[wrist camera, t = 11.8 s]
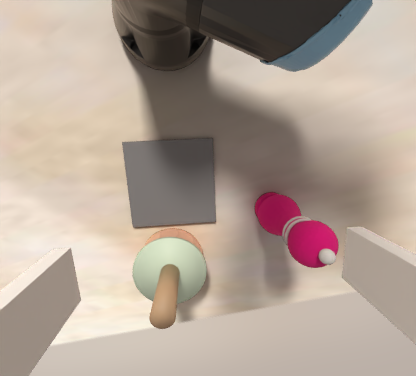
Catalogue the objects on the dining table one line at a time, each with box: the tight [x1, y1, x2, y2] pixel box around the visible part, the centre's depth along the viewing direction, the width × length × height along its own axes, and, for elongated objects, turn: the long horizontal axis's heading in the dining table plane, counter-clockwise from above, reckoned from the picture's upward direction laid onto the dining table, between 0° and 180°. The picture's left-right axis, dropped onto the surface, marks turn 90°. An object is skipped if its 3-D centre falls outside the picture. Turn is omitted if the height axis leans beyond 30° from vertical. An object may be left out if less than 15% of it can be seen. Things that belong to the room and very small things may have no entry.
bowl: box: [145, 228, 203, 255], centre depth 42 cm, size 12×12×5 cm
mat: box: [122, 138, 216, 227], centre depth 41 cm, size 16×16×1 cm
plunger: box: [133, 237, 207, 329], centre depth 35 cm, size 13×13×11 cm
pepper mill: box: [255, 192, 338, 268], centre depth 34 cm, size 7×7×20 cm
